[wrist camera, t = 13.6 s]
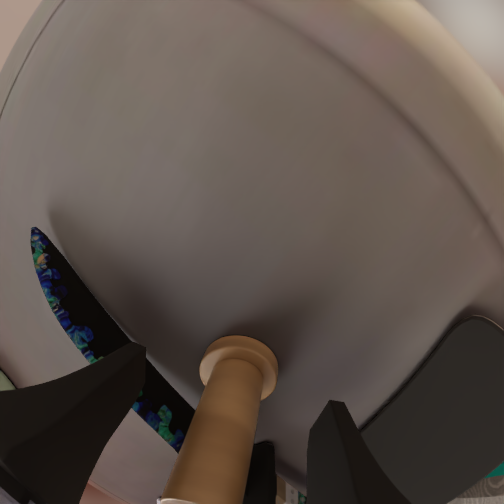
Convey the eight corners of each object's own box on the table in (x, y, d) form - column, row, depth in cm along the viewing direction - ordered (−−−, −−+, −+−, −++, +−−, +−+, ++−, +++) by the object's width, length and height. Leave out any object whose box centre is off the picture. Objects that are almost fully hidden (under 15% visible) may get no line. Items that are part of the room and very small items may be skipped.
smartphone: (307, 473, 15) (467, 301, 10) (315, 469, 16) (470, 300, 11) (366, 544, 10) (567, 394, 5) (373, 537, 10) (565, 388, 5)
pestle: (265, 398, 14) (242, 537, 6) (199, 378, 14) (142, 509, 6) (288, 347, 13) (276, 512, 5) (211, 324, 13) (138, 474, 5)
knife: (349, 510, 16) (348, 550, 11) (317, 518, 17) (313, 556, 12) (89, 192, 14) (27, 197, 10) (63, 223, 15) (6, 236, 10)
